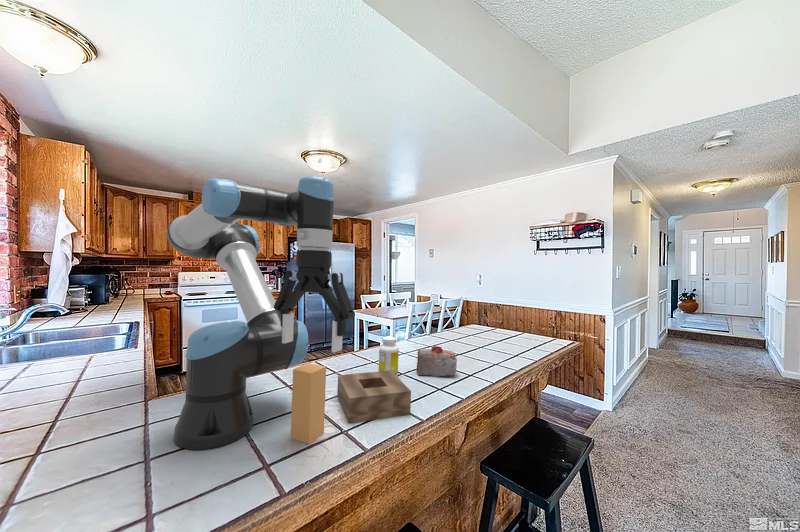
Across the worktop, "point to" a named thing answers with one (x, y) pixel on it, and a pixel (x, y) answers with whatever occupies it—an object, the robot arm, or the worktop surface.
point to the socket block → (373, 396)
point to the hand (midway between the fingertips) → (311, 346)
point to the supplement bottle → (388, 355)
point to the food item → (436, 362)
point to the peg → (308, 402)
